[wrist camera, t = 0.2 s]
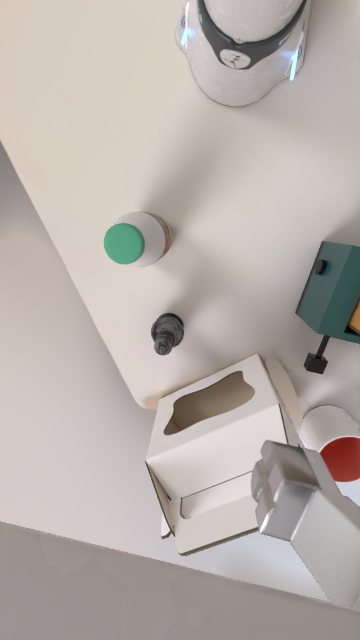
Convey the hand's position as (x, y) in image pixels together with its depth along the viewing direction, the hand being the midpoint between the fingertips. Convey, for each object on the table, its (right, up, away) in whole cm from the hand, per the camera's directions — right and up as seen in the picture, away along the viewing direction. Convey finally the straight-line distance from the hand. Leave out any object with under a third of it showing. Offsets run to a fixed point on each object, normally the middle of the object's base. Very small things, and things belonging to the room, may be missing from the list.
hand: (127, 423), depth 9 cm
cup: (+31, -18, +54) cm, 64 cm away
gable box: (+10, -14, +54) cm, 56 cm away
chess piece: (0, +2, +50) cm, 50 cm away
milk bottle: (-4, +17, +45) cm, 48 cm away
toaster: (+29, +9, +45) cm, 54 cm away
